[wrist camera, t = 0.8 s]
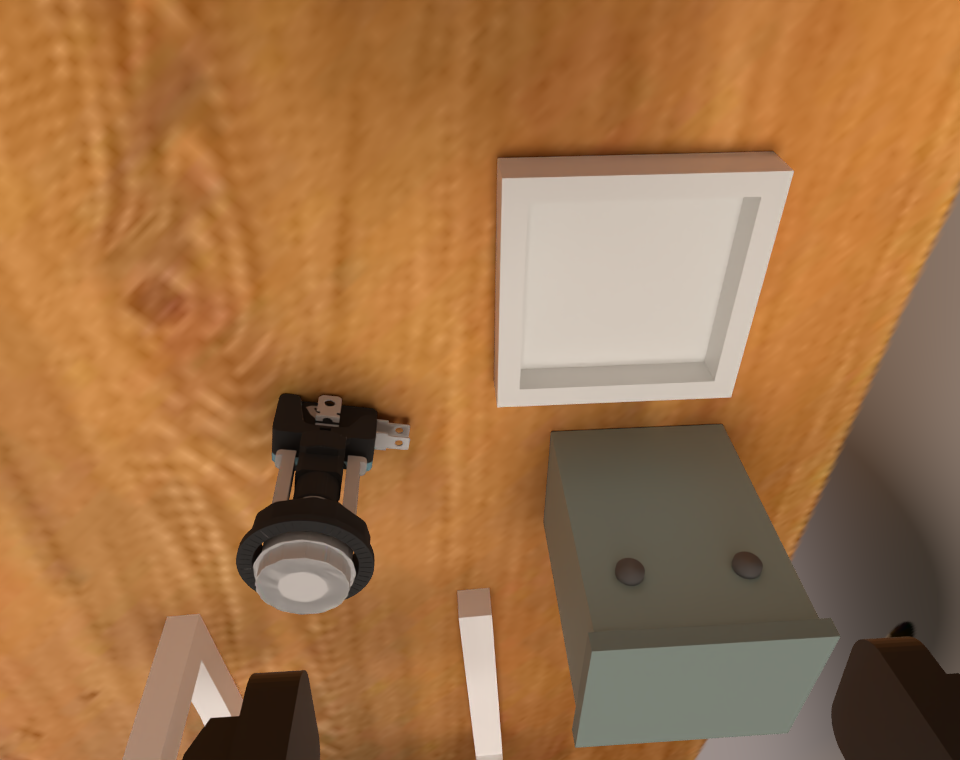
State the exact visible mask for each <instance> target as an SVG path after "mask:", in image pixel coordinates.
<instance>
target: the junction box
mask: <svg viewBox="0 0 960 760" xmlns="http://www.w3.org/2000/svg"><path fill="white" fill-rule="evenodd" d="M544 528H545V533H546V539H547V545H548V550H549V556H550V562H551V567H552V573H553V579H554V584H555V590H556V596H557V601H558V607H559V613H560V618H561V624H562V630H563V635H564V641H565V647H566V652H567V658H568V664H569V669H570V675H571V681H572V686H573V692H574V698H575V703H576V709H575V716H574V722H573V728H572V731H573V737H574V743H575V748H576V747H591V746H605V745H620V744H635V743H649V742H664V741H679V740H693V739H708V738H723V737H737V736H752V735H767V734H781V733H788V732H789V730H790V728H791V727H792V725H793V723H794V721H795V719H796V717H797V716H798V714H799V712H800V710H801V708H802V706H803V704H804V702H805V701H806V699H807V697H808V695H809V693H810V691H811V690H812V688H813V686H814V684H815V682H816V680H817V678H818V677H819V675H820V673H821V671H822V669H823V667H824V666H825V664H826V662H827V660H828V658H829V656H830V655H831V653H832V651H833V649H834V647H835V645H836V644H837V642H838V640H839V638H840V635H839V633H838V631H837V629H836V627H835V625H834V623H833V621H832V619H831V618H824V619H819V617H818V615H817V613H816V611H815V609H814V607H813V605H812V603H811V601H810V599H809V597H808V595H807V593H806V591H805V589H804V587H803V585H802V583H801V581H800V579H799V577H798V575H797V573H796V571H795V569H794V567H793V565H792V563H791V561H790V559H789V557H788V555H787V553H786V551H785V549H784V547H783V545H782V543H781V541H780V539H779V537H778V535H777V533H776V531H775V529H774V527H773V525H772V523H771V521H770V519H769V517H768V515H767V513H766V511H765V509H764V507H763V505H762V503H761V501H760V499H759V497H758V495H757V493H756V491H755V489H754V487H753V485H752V483H751V481H750V479H749V477H748V475H747V473H746V471H745V469H744V467H743V465H742V463H741V461H740V459H739V456H738V454H737V452H736V450H735V448H734V446H733V444H732V442H731V440H730V438H729V436H728V434H727V432H726V430H725V428H724V426H723V424H712V425H690V426H667V427H645V428H622V429H600V430H577V431H555V432H551V438H550V450H549V462H548V474H547V486H546V498H545V511H544Z"/></svg>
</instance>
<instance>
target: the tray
mask: <svg viewBox="0 0 960 760" xmlns="http://www.w3.org/2000/svg"><path fill="white" fill-rule="evenodd" d="M793 173H794V170H792V169H791V168H790V167H789V166H788V165H787V164H786V163H785V162H784V161H783V160H782V159H781V158H780V157H779V156H778V155H777V154H776V153H775V152H774V151H768V152H727V153H686V154H644V155H603V156H562V157H520V158H497V214H496V276H495V338H494V386H495V393H496V401H497V407H515V406H539V405H562V404H585V403H609V402H632V401H656V400H679V399H703V398H726V397H731V396H732V392H733V388H734V385H735V381H736V378H737V374H738V370H739V367H740V363H741V360H742V356H743V352H744V349H745V345H746V342H747V338H748V334H749V331H750V327H751V324H752V320H753V316H754V313H755V309H756V306H757V302H758V298H759V295H760V291H761V288H762V284H763V280H764V277H765V273H766V270H767V266H768V262H769V259H770V255H771V252H772V248H773V245H774V241H775V237H776V234H777V230H778V227H779V223H780V219H781V216H782V212H783V209H784V205H785V201H786V198H787V194H788V191H789V187H790V183H791V180H792V176H793Z"/></svg>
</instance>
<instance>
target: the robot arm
mask: <svg viewBox="0 0 960 760" xmlns="http://www.w3.org/2000/svg"><path fill="white" fill-rule="evenodd" d="M831 715H832V726H833V731H834V735H835V738H836V741H837V744H838V746H839V748H840V750H841V752H842V754H843V756H844V758H845V760H960V674H959V673H956V674H946V673H945V672H944V670H943V669H942V668H941V666H940V665H939V664H938V662H937V661H936V660H935V658H934V657H933V656H932V655H931V653H930V652H929V650H928V649H927V648H926V647H925V646H924V645H923V644H922V643H921V642H920V641H919V640H917V639H916V638H913V637H894V638H877V639H862V640H858V641H857V642H856V643H855V644H854V646H853V648H852V651H851V653H850V656H849V659H848V662H847V665H846V667H845V670H844V673H843V676H842V679H841V682H840V684H839V687H838V690H837V693H836V696H835V699H834V701H833V705H832V714H831ZM183 760H320V744H319V734H318V728H317V723H316V717H315V711H314V706H313V700H312V695H311V689H310V683H309V678H308V674H307V672H306V671H305V670H302V671H285V672H268V673H254V674H252V675H251V677H250V678H249V681H248V683H247V687H246V691H245V695H244V699H243V703H242V707H241V711H240V715H239V716H232V717H216V718H210V719H209V721H208V722H207V724H206V725H205V726H204V728H203V729H202V730H201V732H200V733H199V735H198V736H197V737H196V739H195V740H194V741H193V743H192V744H191V746H190V747H189V748H188V750H187V751H186V753H185V754H184V756H183Z"/></svg>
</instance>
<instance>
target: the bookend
mask: <svg viewBox="0 0 960 760" xmlns="http://www.w3.org/2000/svg"><path fill="white" fill-rule="evenodd" d="M457 593H458V613H459V624H460V632H461V640H462V648H463V656H464V664H465V672H466V680H467V688H468V696H469V704H470V712H471V720H472V729H473V737H474V745H475V753H476V760H503V756H502V743H501V730H500V717H499V703H498V690H497V677H496V664H495V650H494V637H493V624H492V611H491V600H490V589H489V588H482V589H471V590H460V591H457ZM191 701H192V703H193V705H194V706H195V708H196V710H197V711H198V713H199V715H200V717H201V719H202V721H203V724H204V726H205V725H206V724H207V722H208V721H209V719H210V718H216V717H232V716H239V715H240V711H241V707H242V703H243V699H242V697H241V695H240V693H239V691H238V689H237V687H236V685H235V683H234V681H233V679H232V677H231V675H230V673H229V671H228V669H227V667H226V665H225V663H224V661H223V659H222V657H221V655H220V653H219V651H218V649H217V647H216V645H215V643H214V641H213V639H212V637H211V635H210V633H209V631H208V629H207V627H206V625H205V623H204V622H203V620H202V618H201V616H200V614H192V615H181V616H170V617H167V619H166V622H165V625H164V628H163V632H162V635H161V638H160V641H159V644H158V648H157V651H156V654H155V657H154V660H153V664H152V667H151V670H150V673H149V676H148V679H147V683H146V686H145V689H144V692H143V695H142V699H141V702H140V705H139V708H138V711H137V715H136V718H135V721H134V724H133V727H132V731H131V734H130V737H129V740H128V743H127V747H126V750H125V753H124V756H123V759H122V760H176V758H177V755H178V751H179V747H180V743H181V739H182V735H183V731H184V727H185V723H186V719H187V716H188V712H189V708H190V704H191Z"/></svg>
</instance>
